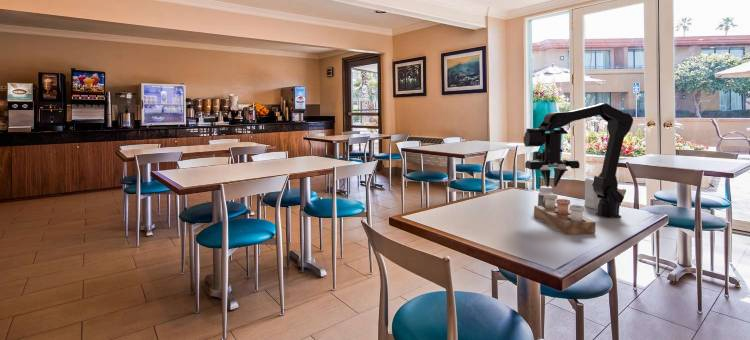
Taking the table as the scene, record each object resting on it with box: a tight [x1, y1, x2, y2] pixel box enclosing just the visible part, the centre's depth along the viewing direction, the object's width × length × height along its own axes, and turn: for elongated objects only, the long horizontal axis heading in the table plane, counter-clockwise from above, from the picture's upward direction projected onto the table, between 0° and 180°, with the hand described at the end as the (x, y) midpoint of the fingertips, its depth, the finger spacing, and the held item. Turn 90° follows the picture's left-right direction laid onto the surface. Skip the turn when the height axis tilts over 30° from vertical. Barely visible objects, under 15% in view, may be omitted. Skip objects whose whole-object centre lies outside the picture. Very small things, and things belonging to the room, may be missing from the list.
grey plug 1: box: [544, 193, 558, 209], centre depth 160 cm, size 5×5×6 cm
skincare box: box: [584, 177, 600, 210], centre depth 174 cm, size 6×4×12 cm
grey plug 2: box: [568, 204, 586, 222], centre depth 141 cm, size 5×5×6 cm
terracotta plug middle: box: [556, 198, 571, 215], centre depth 150 cm, size 5×5×6 cm
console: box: [533, 204, 597, 235], centre depth 151 cm, size 10×25×4 cm, turn 3°
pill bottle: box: [537, 185, 554, 206], centre depth 170 cm, size 6×6×10 cm
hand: (551, 186), depth 159 cm, fingers open, 3 cm apart
